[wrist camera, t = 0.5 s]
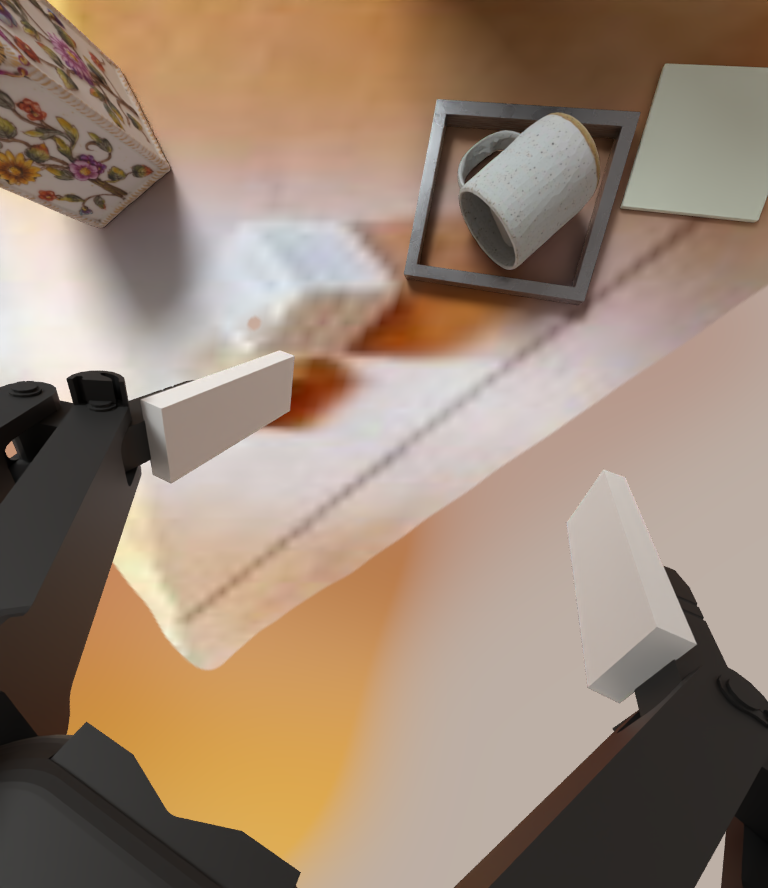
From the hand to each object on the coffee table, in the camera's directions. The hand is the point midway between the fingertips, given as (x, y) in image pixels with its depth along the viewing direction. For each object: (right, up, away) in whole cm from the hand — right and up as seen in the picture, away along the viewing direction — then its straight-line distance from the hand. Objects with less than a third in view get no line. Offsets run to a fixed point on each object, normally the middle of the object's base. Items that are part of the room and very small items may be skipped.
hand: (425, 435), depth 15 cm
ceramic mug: (+9, +21, +17) cm, 29 cm away
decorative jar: (-32, +31, +24) cm, 51 cm away
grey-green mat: (+24, +23, +13) cm, 36 cm away
